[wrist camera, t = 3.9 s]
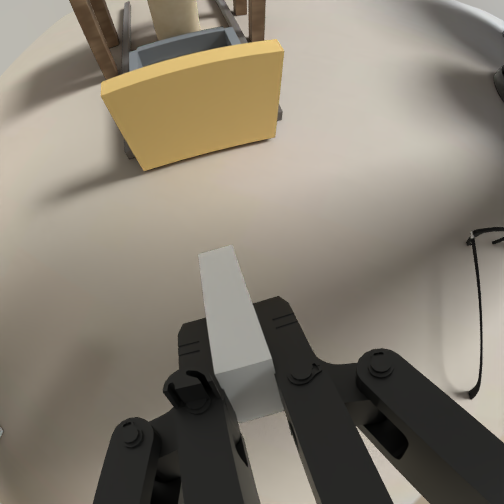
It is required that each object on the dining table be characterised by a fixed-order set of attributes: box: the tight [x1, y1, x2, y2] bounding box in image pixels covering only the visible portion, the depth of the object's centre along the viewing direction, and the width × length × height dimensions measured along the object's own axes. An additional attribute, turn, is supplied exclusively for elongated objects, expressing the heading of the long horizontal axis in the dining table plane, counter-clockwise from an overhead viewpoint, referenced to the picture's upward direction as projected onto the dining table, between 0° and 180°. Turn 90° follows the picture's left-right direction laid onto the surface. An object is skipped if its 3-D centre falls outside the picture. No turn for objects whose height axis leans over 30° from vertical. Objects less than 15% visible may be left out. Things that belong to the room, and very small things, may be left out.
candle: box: [147, 0, 200, 41], centre depth 27 cm, size 6×6×10 cm
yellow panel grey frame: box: [101, 26, 284, 171], centre depth 23 cm, size 12×16×10 cm
